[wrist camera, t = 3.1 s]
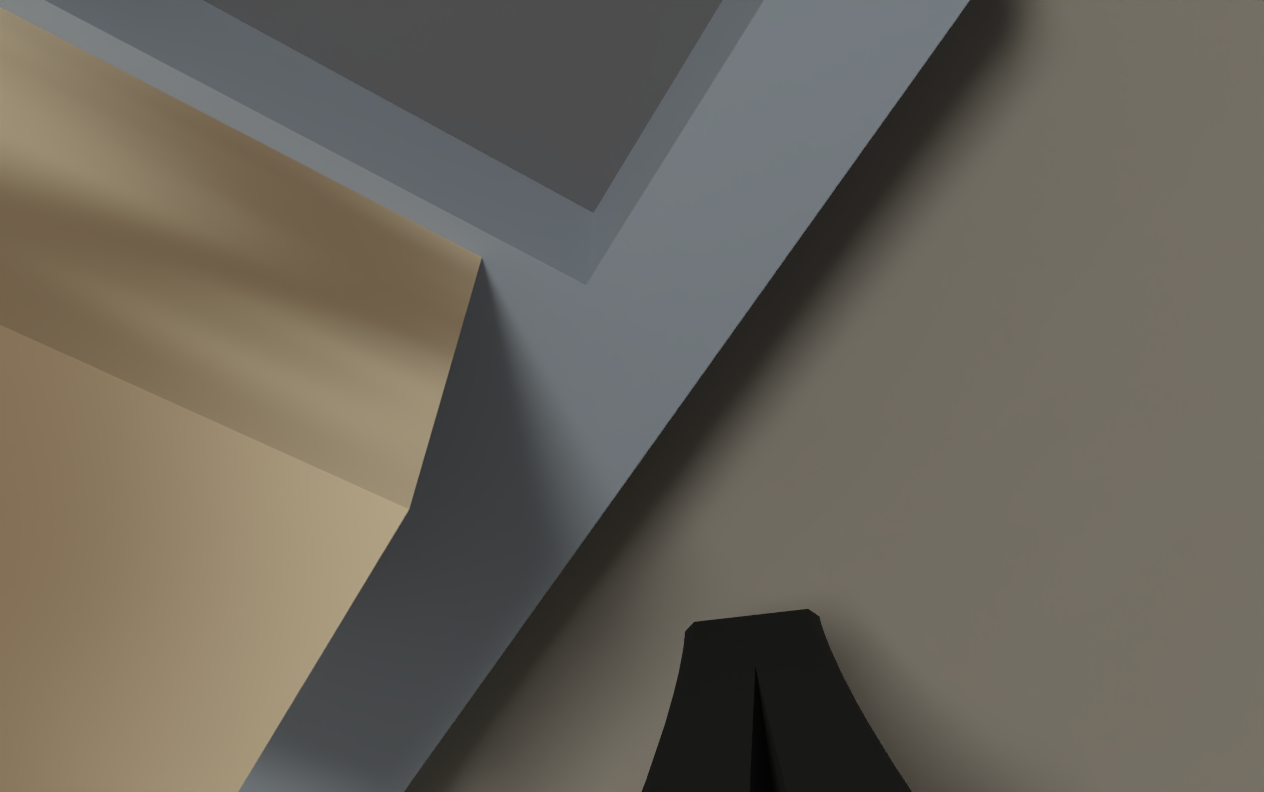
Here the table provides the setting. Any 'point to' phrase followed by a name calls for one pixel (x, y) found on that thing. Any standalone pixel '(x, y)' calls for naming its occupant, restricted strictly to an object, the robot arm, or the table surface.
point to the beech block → (188, 422)
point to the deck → (526, 265)
